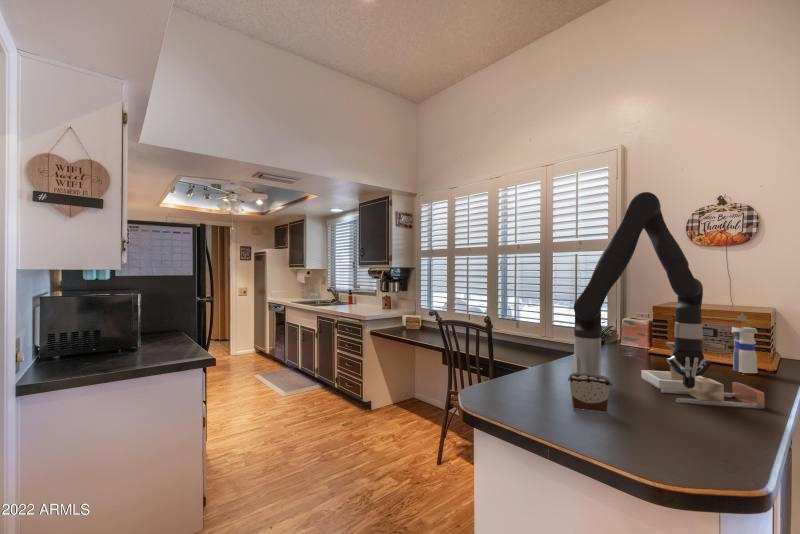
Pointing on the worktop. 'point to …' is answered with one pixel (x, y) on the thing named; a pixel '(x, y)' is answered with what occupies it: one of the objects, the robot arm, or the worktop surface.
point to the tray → (663, 380)
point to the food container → (590, 391)
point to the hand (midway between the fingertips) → (688, 387)
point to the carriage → (707, 389)
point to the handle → (673, 373)
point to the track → (738, 391)
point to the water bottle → (744, 349)
